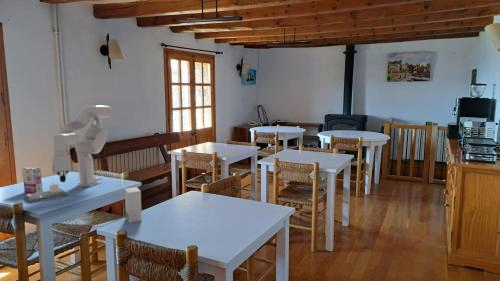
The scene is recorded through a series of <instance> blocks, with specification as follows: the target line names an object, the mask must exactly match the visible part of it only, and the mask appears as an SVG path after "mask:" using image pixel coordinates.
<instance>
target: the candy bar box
mask: <svg viewBox="0 0 500 281" xmlns="http://www.w3.org/2000/svg"><path fill="white" fill-rule="evenodd" d="M21 169H22V180H23V189H24V193H25V194H33V193H38V192H44V191H43V184H42V174H41V172H42V171H41V167H34V166H26V167H23V168H21Z"/></svg>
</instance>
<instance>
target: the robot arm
mask: <svg viewBox="0 0 500 281" xmlns="http://www.w3.org/2000/svg"><path fill="white" fill-rule="evenodd" d="M113 113H114V111H113V108H112V107H111V106H109V105H96V104H95V105H93V104H91V105H84V106H82V108H80V110H79V111H78V113H77V115H76V116H75V117H74V118H73V119H72V120H70V121H69V122H67V123H65V124H64V125H62V126H61V127H60V128H59V130H58V132H57V133H56V134H53V136H52V139H53V150H54V151H53V153H54V155H52V161H51V162H52V163H51V164H52V174H55V175H58V176H59V182H61V183H65V182H66V179H67V177H66V176H67V175H68V174H69V173H71V172H72V162H71V158H70V155H69V154H70V153H71V151H70V150H68V145H74V149H75V152H76V157H77V166H78V178H79V182H78V183H77V186H78V187H82V188H83V187H92V186H96V185H97V184H98V181H101V180H102V179H103V178H102V177H101V176H100V177H98V176H97V177H95V173H94V172H95V170H94V158H93V156H92V155H96V154H97V155H98V154H99V153H100V152H101V151H102V149H103V147H104V146H105V143H106V142H107V140H108V131H107V129H105V128H103V127H104V126H103V122H102V120H101V118H105V119H106V118H108V119H109V118H111V116H113ZM89 122H90V123H89ZM88 123H89V125H88ZM87 125H88V127H87V129H86V130H85V131H84V134H83V139H80V137H79V135H78V133H75V131H78V130H81V129H84V128H85V127H86V126H87Z"/></svg>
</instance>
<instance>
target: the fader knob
mask: <svg viewBox="0 0 500 281" xmlns="http://www.w3.org/2000/svg"><path fill="white" fill-rule="evenodd" d="M59 187H60V186H59V183H54V182H52V183H50V184H49V190H50V192H57V191H59V189H60V188H59Z"/></svg>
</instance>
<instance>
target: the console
mask: <svg viewBox="0 0 500 281" xmlns="http://www.w3.org/2000/svg"><path fill="white" fill-rule="evenodd" d="M67 194H68V193H67V192H66V191H64V190H63V189H61V188H59V191H57V192H50V189H49V190H46V191H45V190H44V191H43V192H38V193H26V194H25V195H24V198H25V200H27V201H28V202H29V203H30V204H33V203H37V202H43V201H48V200H53V199H58V198H62V197H67V196H68V195H67ZM32 202H33V203H32Z"/></svg>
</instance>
